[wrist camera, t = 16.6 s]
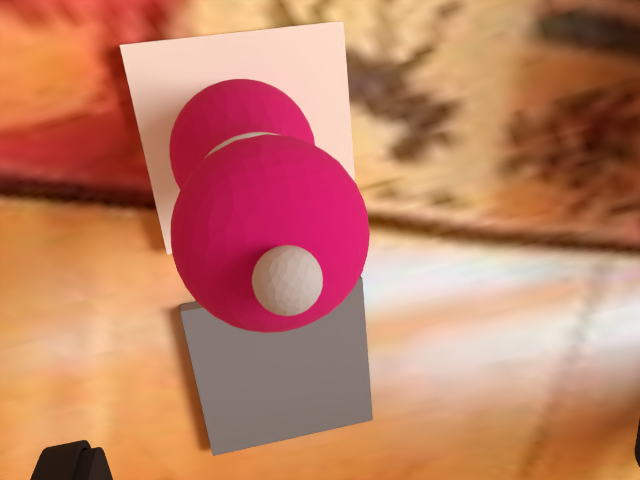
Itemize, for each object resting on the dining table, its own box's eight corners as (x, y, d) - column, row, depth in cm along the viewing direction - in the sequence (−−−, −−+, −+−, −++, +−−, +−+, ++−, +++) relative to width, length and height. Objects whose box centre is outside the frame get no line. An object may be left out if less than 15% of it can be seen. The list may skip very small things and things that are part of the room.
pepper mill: (200, 214, 32) (200, 459, 14) (152, 94, 29) (74, 207, 11) (314, 176, 33) (458, 363, 14) (279, 55, 30) (404, 99, 12)
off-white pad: (339, 21, 31) (343, 21, 30) (353, 217, 35) (358, 222, 34) (122, 44, 29) (119, 45, 28) (168, 248, 34) (167, 254, 33)
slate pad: (358, 272, 37) (362, 278, 36) (368, 411, 41) (372, 420, 41) (180, 304, 35) (180, 311, 34) (212, 445, 40) (212, 455, 39)
